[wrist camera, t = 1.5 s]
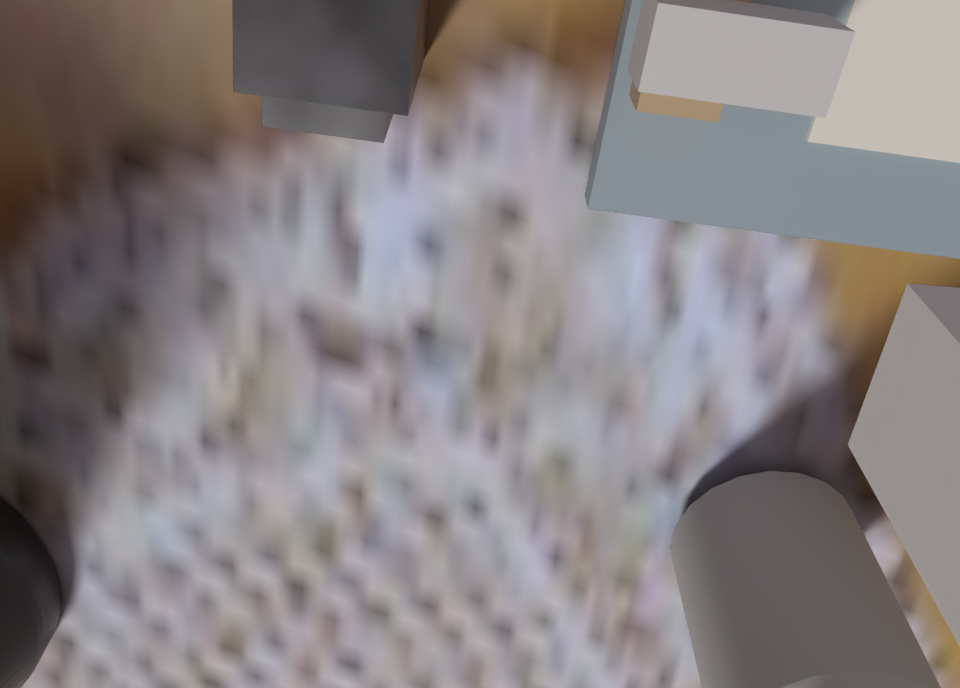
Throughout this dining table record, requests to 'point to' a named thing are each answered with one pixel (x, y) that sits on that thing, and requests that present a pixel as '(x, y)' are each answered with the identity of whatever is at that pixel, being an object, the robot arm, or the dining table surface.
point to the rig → (787, 119)
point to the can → (789, 591)
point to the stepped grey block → (330, 62)
